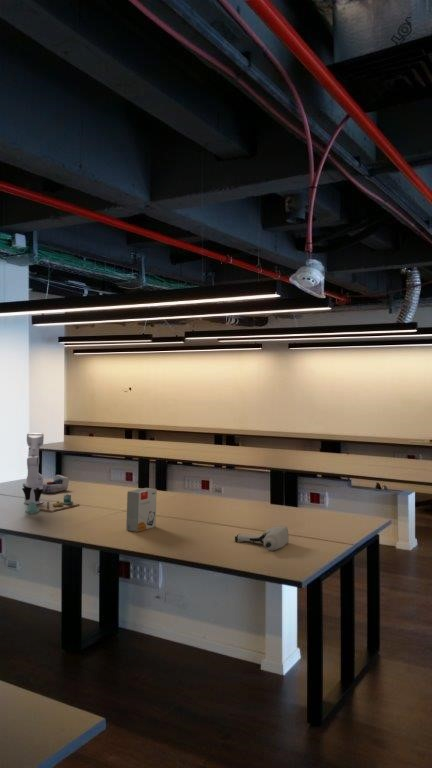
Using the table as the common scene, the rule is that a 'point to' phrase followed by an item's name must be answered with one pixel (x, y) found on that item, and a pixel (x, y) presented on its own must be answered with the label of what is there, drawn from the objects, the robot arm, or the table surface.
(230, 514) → the table surface
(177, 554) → the table surface
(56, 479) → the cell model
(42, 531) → the table surface
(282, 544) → the impact wrench
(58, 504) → the gear carrier
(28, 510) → the gear
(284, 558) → the table surface
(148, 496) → the hard drive box
